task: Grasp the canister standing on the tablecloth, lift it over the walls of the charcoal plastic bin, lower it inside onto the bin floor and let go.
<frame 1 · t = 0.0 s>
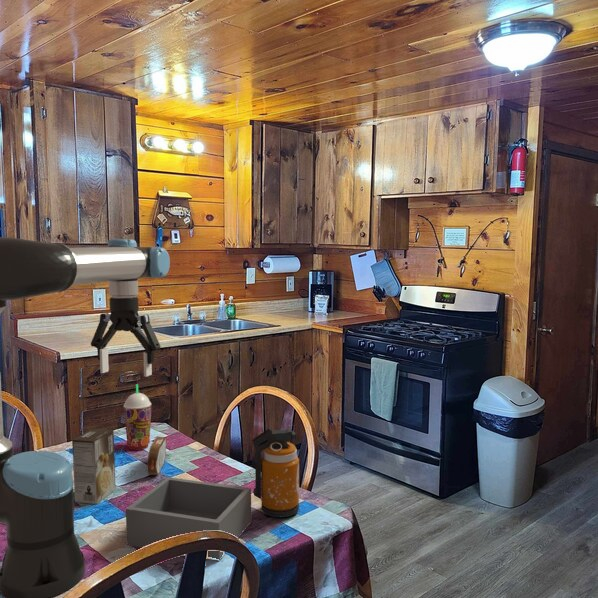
hand: (126, 374, 160), 28 cm above the table, tool pointing down, fingers open, 13 cm apart
smoothie: (138, 447, 183), on the table
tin: (157, 470, 165), on the table
canister: (275, 512, 139), on the table
bin: (191, 532, 129), on the table
coffee box: (95, 496, 148), on the table
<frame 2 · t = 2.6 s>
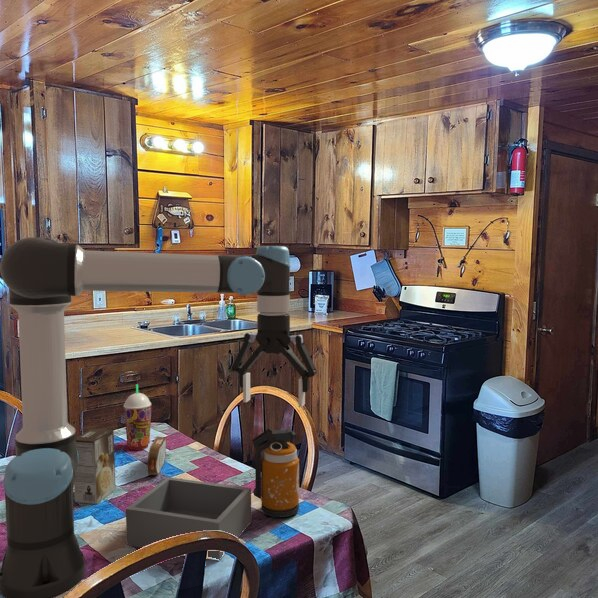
hand: (273, 403, 137), 26 cm above the table, tool pointing down, fingers open, 13 cm apart
nothing on the table moved.
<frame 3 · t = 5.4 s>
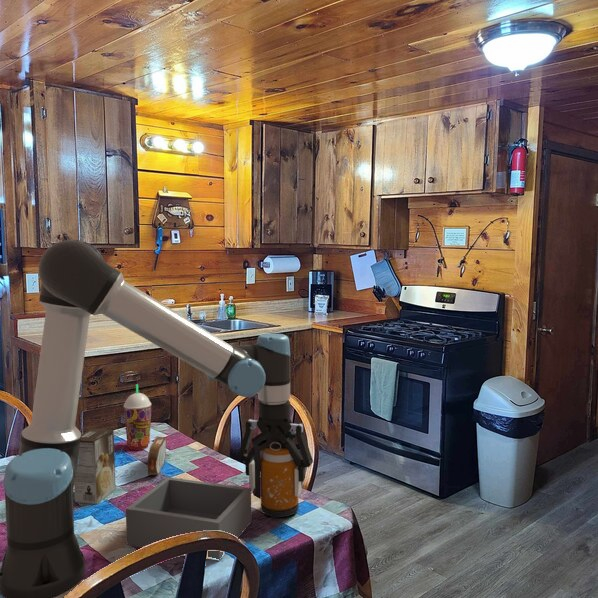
hand: (275, 491, 139), 5 cm above the table, tool pointing down, fingers closed on canister, 11 cm apart
canister: (275, 511, 139), on the table, touching gripper
everything else where it was.
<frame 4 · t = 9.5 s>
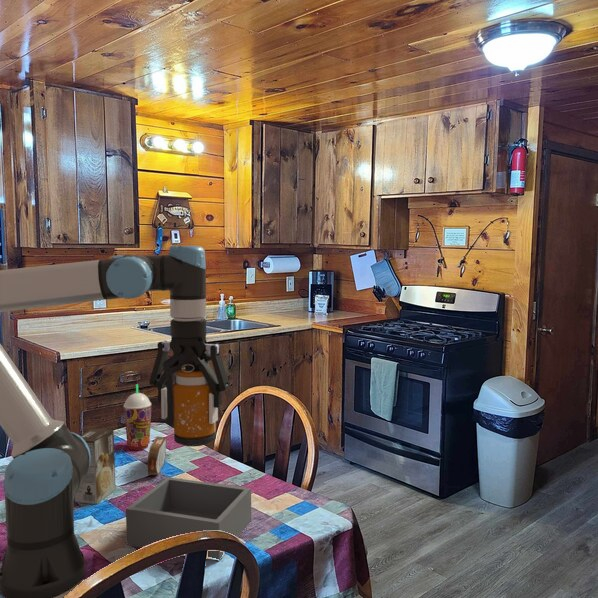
hand: (189, 419, 126), 26 cm above the table, tool pointing down, fingers closed on canister, 11 cm apart
canister: (190, 442, 127), point 20 cm above the table, touching gripper
everything else where it was.
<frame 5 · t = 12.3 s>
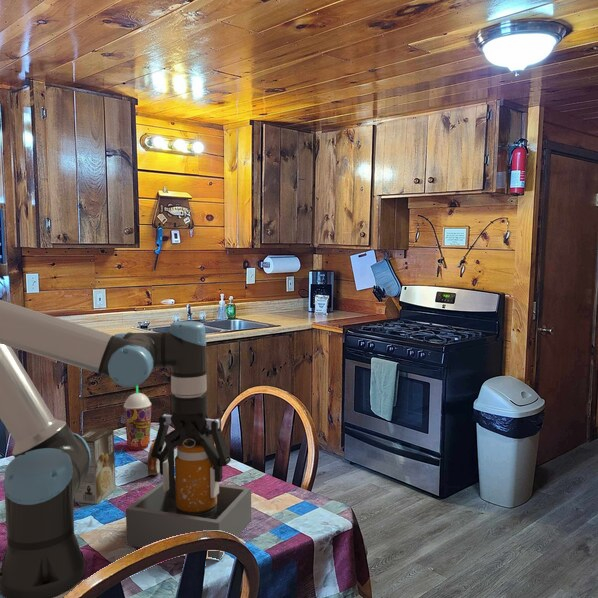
hand: (191, 492, 128), 9 cm above the table, tool pointing down, fingers closed on canister, 11 cm apart
canister: (192, 514, 129), point 4 cm above the table, touching gripper
everything else where it was.
when the fingers open (8 cm above the table, at t = 13.8 s): canister drops 2 cm, resting on bin.
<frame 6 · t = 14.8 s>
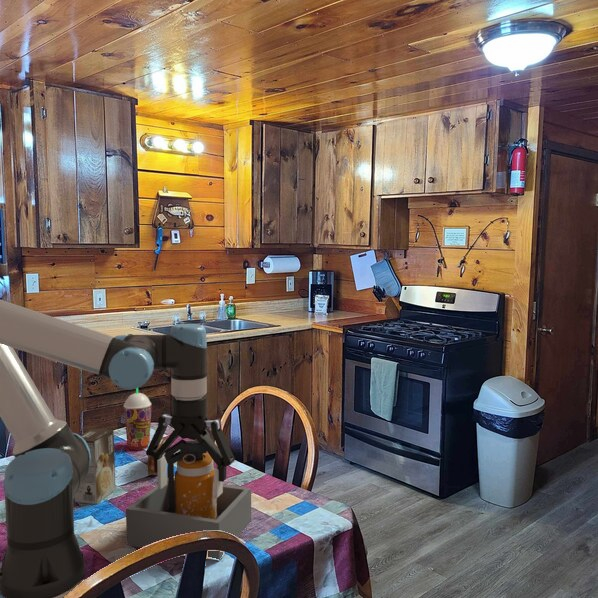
hand: (190, 490, 128), 10 cm above the table, tool pointing down, fingers open, 13 cm apart
canister: (191, 528, 129), point 1 cm above the table, touching bin
everything else where it was.
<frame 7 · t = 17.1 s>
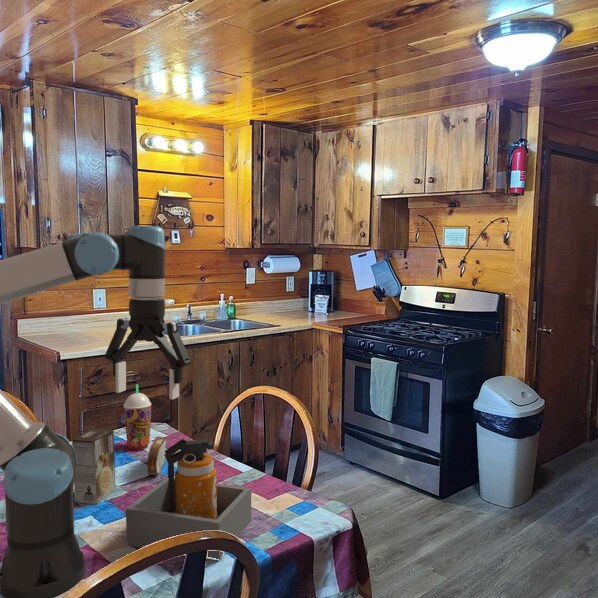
hand: (147, 394, 128), 31 cm above the table, tool pointing down, fingers open, 13 cm apart
nothing on the table moved.
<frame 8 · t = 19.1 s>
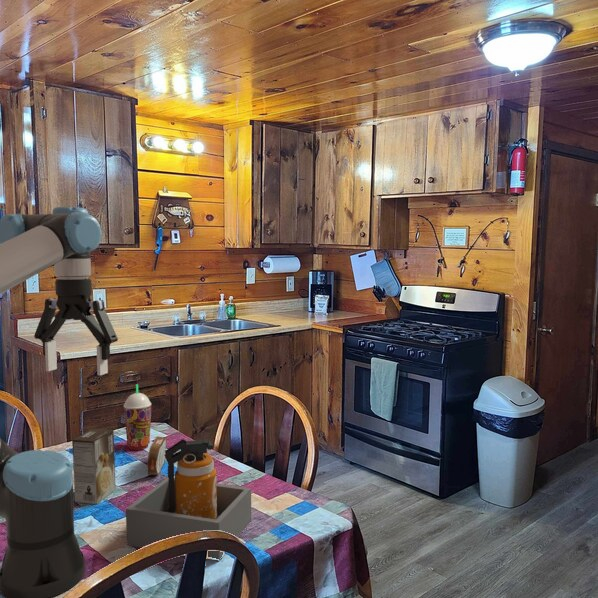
hand: (76, 372, 131), 35 cm above the table, tool pointing down, fingers open, 13 cm apart
nothing on the table moved.
at the end: canister inside the target area on the bin (0.2 cm from its centre), point 0.8 cm above the bin's base; canister tilted 0°; the gripper is holding nothing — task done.
